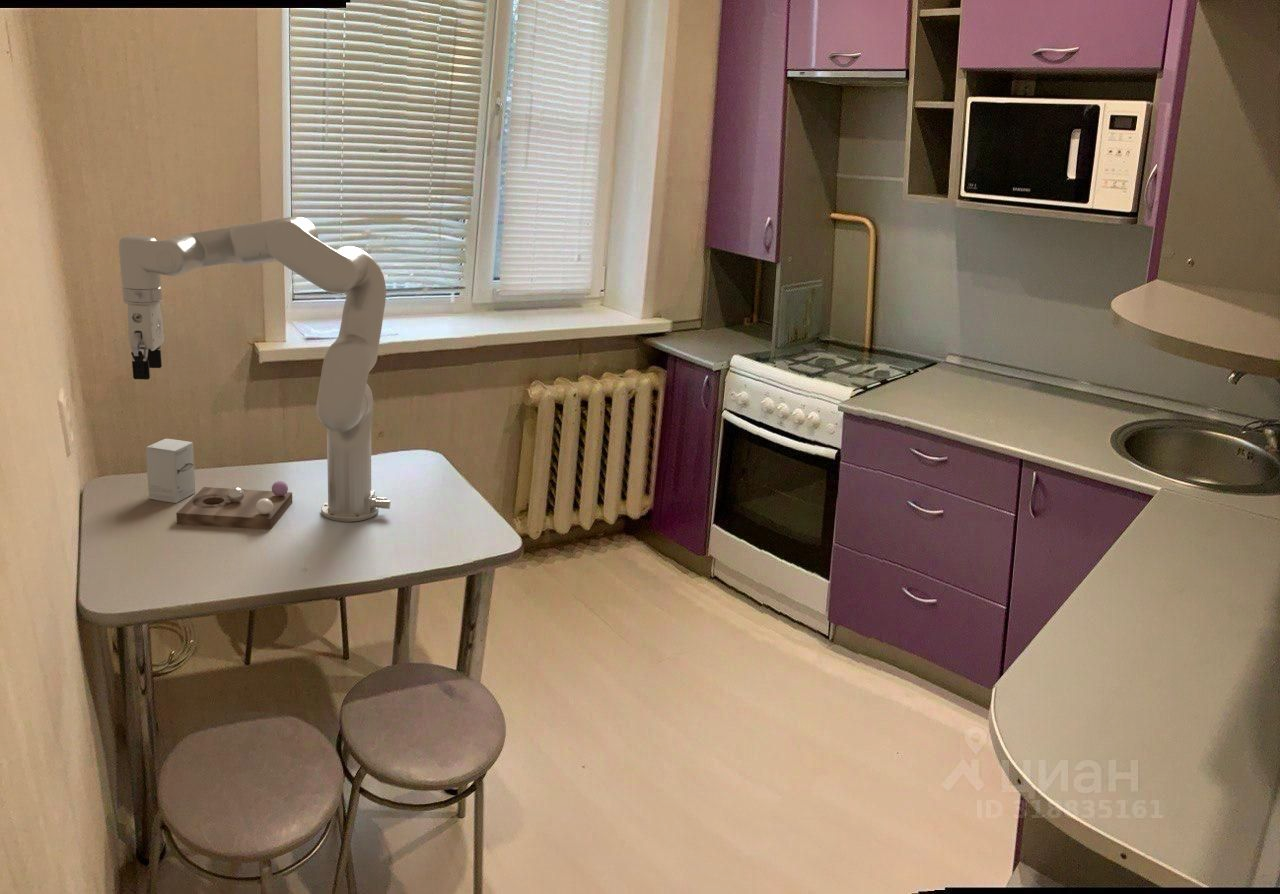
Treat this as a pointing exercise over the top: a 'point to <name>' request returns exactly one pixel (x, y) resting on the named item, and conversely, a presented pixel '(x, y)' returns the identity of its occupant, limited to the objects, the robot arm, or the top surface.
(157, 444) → the supplement box
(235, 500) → the steel ball
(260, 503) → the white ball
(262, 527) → the board
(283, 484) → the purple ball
